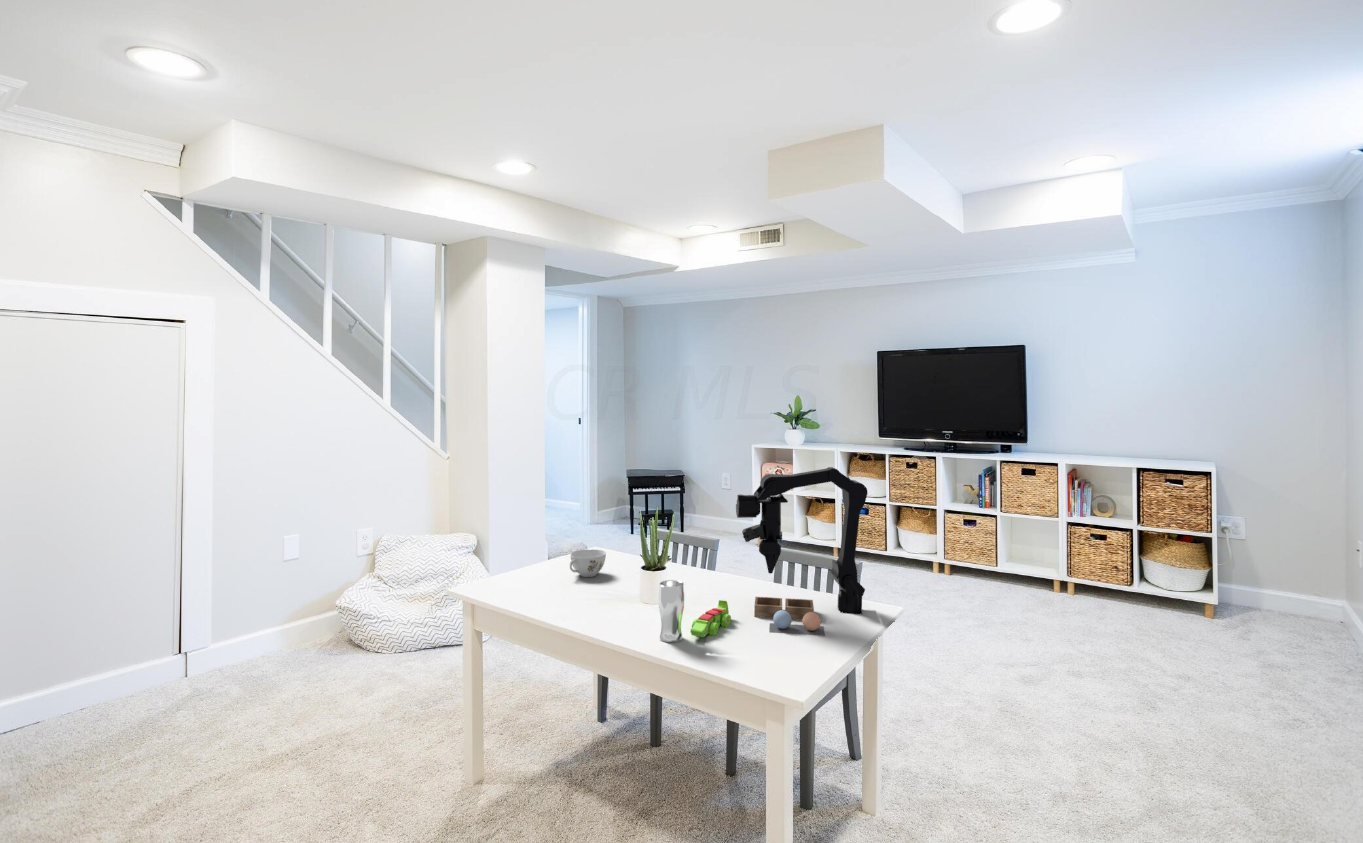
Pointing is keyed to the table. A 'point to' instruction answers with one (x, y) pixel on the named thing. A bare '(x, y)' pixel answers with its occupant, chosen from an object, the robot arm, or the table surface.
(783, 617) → the ball slate
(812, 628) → the ball terracotta
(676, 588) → the beer glass
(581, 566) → the teacup
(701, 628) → the toy crocodile
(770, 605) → the open wooden crate
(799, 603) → the wooden cubby box
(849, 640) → the table surface
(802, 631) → the mat
